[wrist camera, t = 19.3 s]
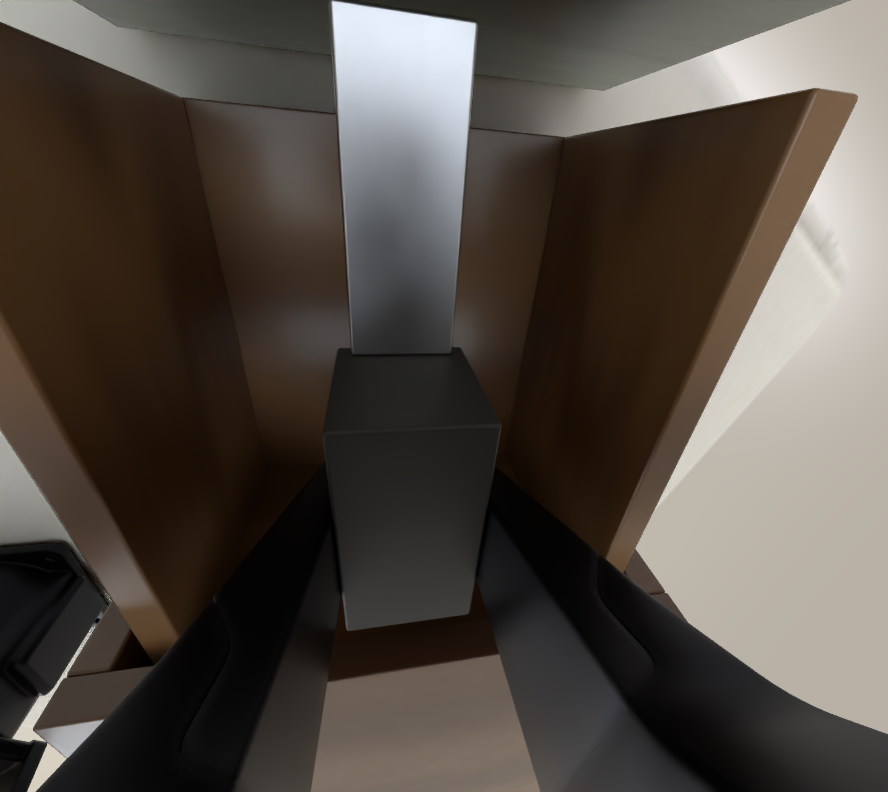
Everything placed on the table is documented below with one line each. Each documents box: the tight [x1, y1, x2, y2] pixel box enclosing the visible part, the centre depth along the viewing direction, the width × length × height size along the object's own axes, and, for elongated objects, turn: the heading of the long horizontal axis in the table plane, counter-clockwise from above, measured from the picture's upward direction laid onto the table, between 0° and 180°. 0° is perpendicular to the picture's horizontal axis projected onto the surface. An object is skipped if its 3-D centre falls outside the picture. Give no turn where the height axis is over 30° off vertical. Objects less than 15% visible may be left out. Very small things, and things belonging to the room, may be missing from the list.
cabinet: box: [33, 549, 687, 792], centre depth 17 cm, size 17×15×11 cm
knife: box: [322, 0, 502, 631], centre depth 7 cm, size 10×3×3 cm, turn 176°
